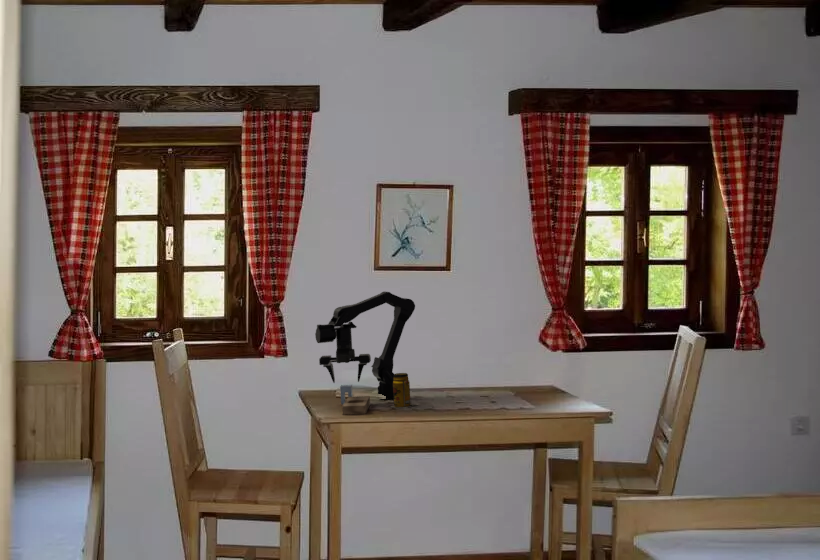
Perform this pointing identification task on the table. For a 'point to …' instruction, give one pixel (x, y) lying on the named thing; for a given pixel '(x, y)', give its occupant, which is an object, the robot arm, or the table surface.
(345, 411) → the brown slotted block
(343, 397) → the clip
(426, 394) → the table surface
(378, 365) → the robot arm
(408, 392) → the condiment
